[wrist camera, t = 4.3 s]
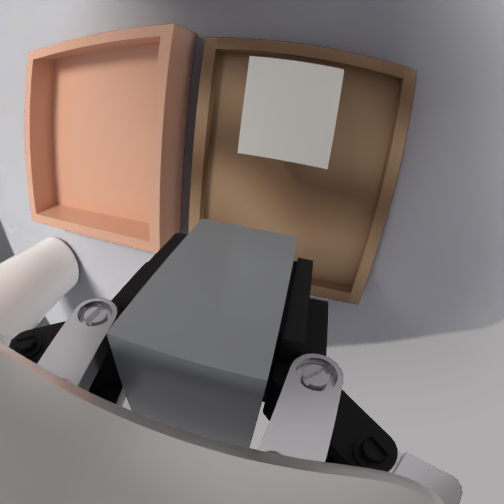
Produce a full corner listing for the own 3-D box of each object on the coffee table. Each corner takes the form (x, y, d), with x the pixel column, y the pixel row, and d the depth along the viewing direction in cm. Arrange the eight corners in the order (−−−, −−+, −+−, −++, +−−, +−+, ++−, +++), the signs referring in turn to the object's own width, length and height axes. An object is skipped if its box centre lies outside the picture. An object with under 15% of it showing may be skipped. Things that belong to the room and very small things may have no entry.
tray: (212, 41, 15) (205, 37, 14) (411, 72, 13) (417, 70, 12) (194, 257, 22) (187, 265, 21) (357, 294, 20) (358, 304, 19)
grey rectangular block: (201, 218, 11) (106, 332, 6) (298, 237, 11) (267, 380, 5) (199, 301, 13) (135, 419, 8) (280, 320, 12) (247, 454, 7)
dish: (56, 52, 17) (28, 52, 14) (196, 33, 15) (174, 23, 12) (56, 208, 23) (32, 220, 20) (180, 235, 21) (159, 254, 19)
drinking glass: (97, 264, 24) (-29, 378, 11) (76, 303, 28) (-21, 402, 14) (49, 212, 23) (-83, 297, 10) (34, 257, 27) (-69, 338, 14)
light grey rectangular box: (275, 73, 15) (249, 55, 10) (338, 83, 14) (344, 69, 9) (266, 138, 17) (237, 152, 11) (327, 149, 16) (327, 169, 11)
